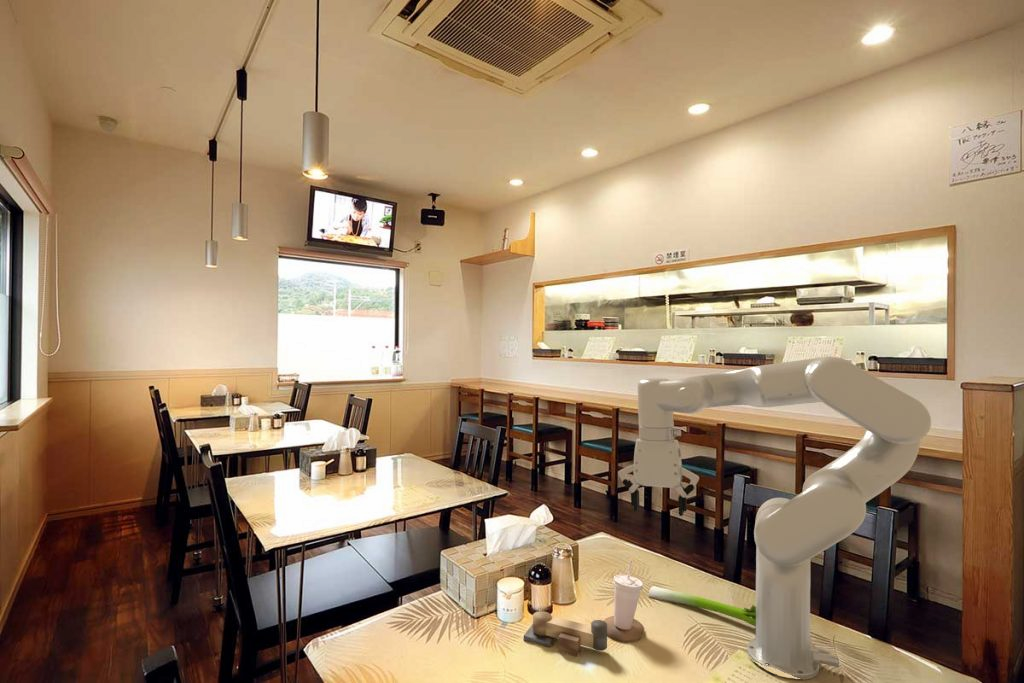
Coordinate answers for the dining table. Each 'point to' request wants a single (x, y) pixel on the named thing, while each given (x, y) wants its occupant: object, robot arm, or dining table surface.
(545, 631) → the leg
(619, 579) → the smoothie
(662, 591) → the leek
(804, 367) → the robot arm
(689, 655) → the dining table surface
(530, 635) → the pivot plate
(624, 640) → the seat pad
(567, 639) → the block
